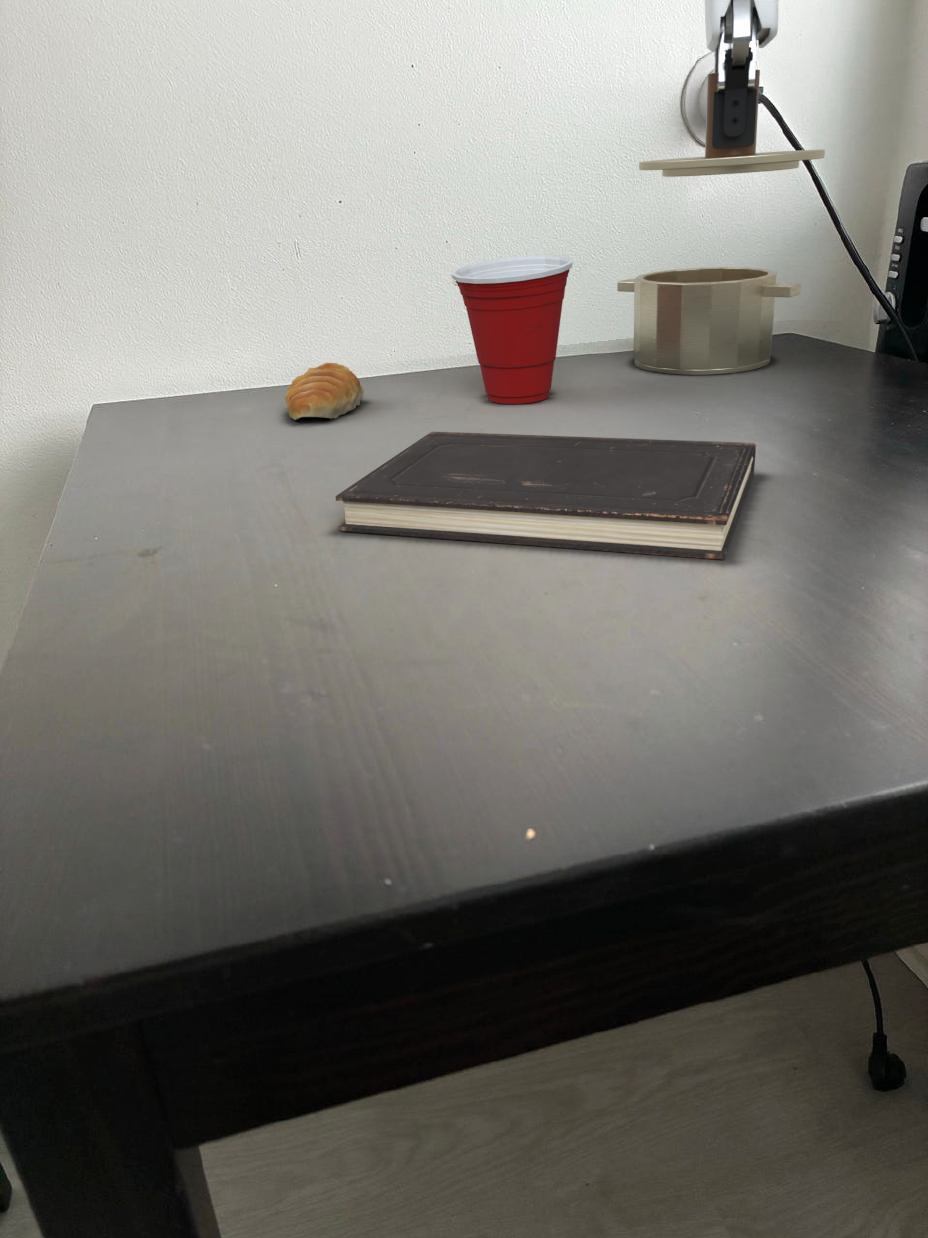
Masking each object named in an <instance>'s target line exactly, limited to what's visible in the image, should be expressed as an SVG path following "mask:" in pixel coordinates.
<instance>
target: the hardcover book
mask: <svg viewBox="0 0 928 1238" xmlns="http://www.w3.org/2000/svg"><path fill="white" fill-rule="evenodd" d="M756 448H757V445H756V443H755V442H742V441H741V442H739V441H714V440H713V441H712V440H711V441H709V440H685V439H684V440H683V439H653V438H628V437H625V438H624V437H602V436H601V437H596V436H570V435H544V434H543V435H542V434H541V435H540V434H514V433H513V434H511V433H488V432H486V433H485V432H457V431H456V432H455V431H431V432H428V433H427V434H426V435H424V436H423V437H421V438H419V439H418V440H417V441H415V442H414V443H413V444H411V445H409V446H408V447H406V448H405V449H403V450H402V451H400V452H399V453H398V454H396V455H394V456H393V457H391V458H390V459H388V460H387V461H386V462H384V463H383V464H381V465H379V466H378V467H377V468H375V469H374V470H372V471H370V472H369V473H367V474H366V475H365V476H363V477H361V478H360V479H358V480H357V481H356V482H355V483H353V484H351V485H350V486H348V487H346V488H345V489H344V490H342V491H340V492H339V493H338V494H336V495H335V502H342V504H343V509H344V519H345V521H344V522H343V523H342V524H341V525H339V526H338V530H339V531H340V532H348V533H360V534H373V535H374V534H375V535H388V536H400V537H401V536H402V537H412V538H413V537H415V538H427V539H430V538H431V539H439V540H442V539H443V540H453V541H454V540H455V541H466V542H467V541H468V542H469V541H470V542H482V543H483V542H484V543H495V544H510V545H511V544H512V545H519V546H520V545H523V546H536V547H548V548H562V549H563V548H564V549H576V550H589V551H600V552H602V551H603V552H614V553H615V552H616V553H628V554H643V555H654V556H668V557H683V558H696V559H709V560H710V559H712V560H722V561H723V560H725V559H726V556H727V553H728V550H729V548H730V544H731V542H732V538H733V536H734V533H735V530H736V528H737V525H738V521H739V518H740V515H741V513H742V510H743V507H744V504H745V501H746V499H747V495H748V493H749V491H750V487H751V485H752V482H753V479H754V475H755V467H756V465H755V464H756V453H757V452H756V451H757V449H756Z"/></svg>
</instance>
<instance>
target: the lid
mask: <svg viewBox="0 0 928 1238" xmlns="http://www.w3.org/2000/svg"><path fill="white" fill-rule="evenodd" d="M725 74H726V73H725ZM760 76H761V70H760V69H756V71H755V87H754V89H757V97H756V117H755V136H754V143H753V145H752V146H749V147H736V148H722V149H715V148H713V146H712V128H713V100H714V92H718V72H717V73H714V72H711V73H708V74H707V77H706V78H707V79H706V81H707V82H706V83H707V84H706V109H705V110H706V111H705V112H706V113H705V141H704V143H705V144H704V146H705V147H704V156H692V157H678V158H666V159H656V160H655V159H654V160H645V161H644V160H643V161H640V162H639V163H638V170H639V171H661V176H662V177H664V178H665V177H667V178H670V177H671V178H673V177H674V178H675V177H678V178H679V177H701V176H719V175H732V174H747V173H748V174H749V173H761V172H762V173H763V172H775V171H782V170H783V171H784V170H785V171H786V170H793V169H798V168H800V162H801V161H812V160H821V159H824V158H825V153H826V149H821V148H820V149H799V150H783V151H765V152H757V135H758V134H757V132H758V115H759V114H758V113H759V97H760V81H761V80H760ZM719 92H723V91H719Z"/></svg>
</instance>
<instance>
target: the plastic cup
mask: <svg viewBox="0 0 928 1238" xmlns="http://www.w3.org/2000/svg"><path fill="white" fill-rule="evenodd" d="M573 263H574V257H570V256H566V255H561V254H527V255H516V256H506V257H500V258H494V259H487V260H482V261H478V262H473V263H470V264H465V265H463V266H460V267H458V268H455V269H454V270H453V271H452V272H451V274H450V276H451V278H452V280H454V281H455V283H456V284H457V287H458V289H459V292H460V295H461V296H462V301H463V305H464V307H465V310H466V313H467V318H468V322H469V326H470V331H471V335H472V339H473V344H474V349H475V354H476V358H477V362H478V364H479V367H480V371H481V376H482V381H483V387H484V391H485V393H486V395H487V400H488V401H490V402H491V403H496V404H503V405H506V404H507V405H522V404H530V403H537V402H540V401H541V402H542V401H544V400H546V399H548V398H549V397H550V391H551V390H552V382H553V373H554V366H555V361H556V358H557V349H558V343H559V334H560V325H561V317H562V312H563V311H562V310H563V304H564V303H563V301H564V300H565V293H566V292H565V291H566V287H567V281H568V277H569V273H570V270H571V269H572V268H573Z"/></svg>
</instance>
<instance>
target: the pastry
mask: <svg viewBox="0 0 928 1238" xmlns="http://www.w3.org/2000/svg"><path fill="white" fill-rule="evenodd" d="M364 394H365V387H364V386H363V385H362V384H361V382H360V380H359V378H358V377H357V376H356V374H354V373H353V371H351V369H349V367H347V366H345V365H343V364H339V363H337V362H325V363H322V364H319V365H318V366H316V367H308V369H307V371H305V372H304V374H301V375H298V376H296V377H295V378H294V379H293V380H292V381H291V384H290V386H289V387H288V389H287V390H286V393H285V396H284V398H285V402H286V406H287V408H286V409H287V412H288V415H289V417H290V419H293V420H294V421H297V420H299V419H300V418H325V419H330V420H333V419H334V420H335V419H338V417H340V416H341V415H346V414H348V413H349V412H352V411H353V410H355V409H356V408H357V406H360V405H361V400H362V399H363V396H364Z"/></svg>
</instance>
